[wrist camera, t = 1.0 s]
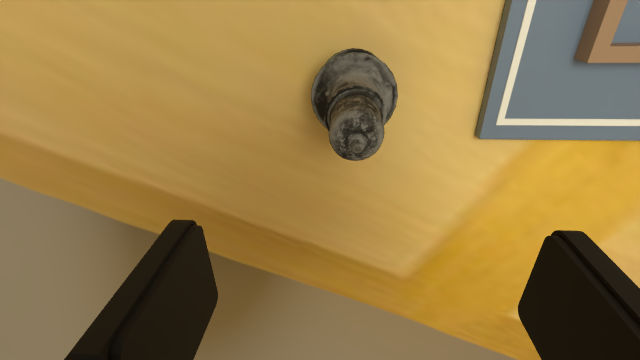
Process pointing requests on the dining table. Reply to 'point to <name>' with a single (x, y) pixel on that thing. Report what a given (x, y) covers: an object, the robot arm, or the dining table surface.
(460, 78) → the dining table surface
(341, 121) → the dark grey chess piece
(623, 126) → the board
